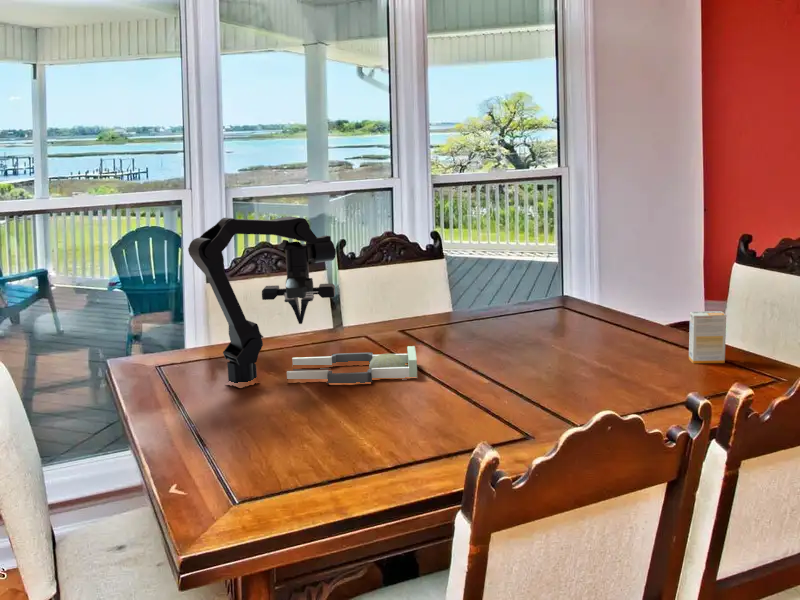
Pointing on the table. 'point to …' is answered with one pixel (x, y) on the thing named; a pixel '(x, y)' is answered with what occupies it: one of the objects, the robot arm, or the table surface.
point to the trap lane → (346, 377)
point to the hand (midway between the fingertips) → (300, 323)
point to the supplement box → (707, 337)
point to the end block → (412, 361)
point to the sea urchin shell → (386, 361)
